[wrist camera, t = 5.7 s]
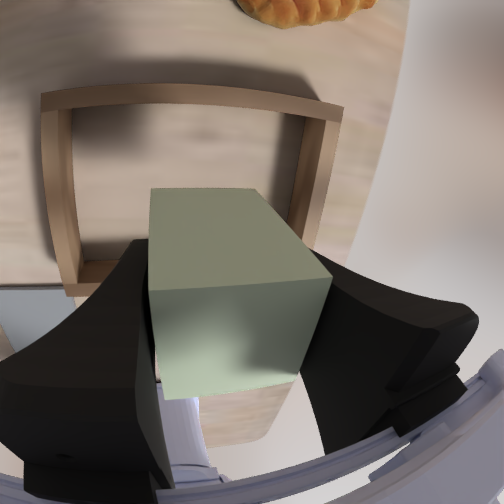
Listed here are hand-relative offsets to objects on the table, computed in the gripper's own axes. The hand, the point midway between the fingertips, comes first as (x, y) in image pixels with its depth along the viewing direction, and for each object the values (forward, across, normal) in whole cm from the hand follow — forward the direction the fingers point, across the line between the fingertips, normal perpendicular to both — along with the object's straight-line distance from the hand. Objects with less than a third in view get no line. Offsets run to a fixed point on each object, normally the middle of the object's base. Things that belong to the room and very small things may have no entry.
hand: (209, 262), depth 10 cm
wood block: (+2, 0, 0) cm, 2 cm away
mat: (+8, +12, +12) cm, 19 cm away
